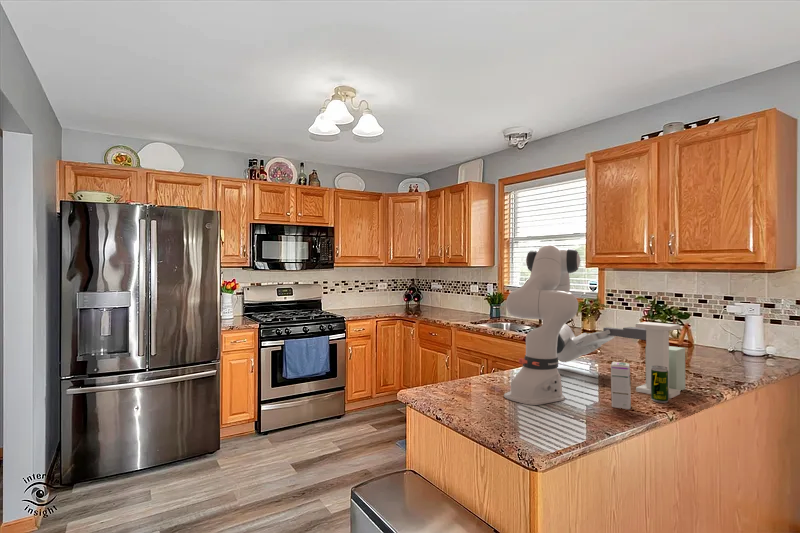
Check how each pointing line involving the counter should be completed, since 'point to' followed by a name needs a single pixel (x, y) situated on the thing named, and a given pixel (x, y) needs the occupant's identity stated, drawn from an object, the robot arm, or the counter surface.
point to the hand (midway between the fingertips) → (612, 330)
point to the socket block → (676, 368)
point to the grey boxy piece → (628, 332)
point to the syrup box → (620, 385)
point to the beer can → (659, 384)
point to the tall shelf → (656, 351)
